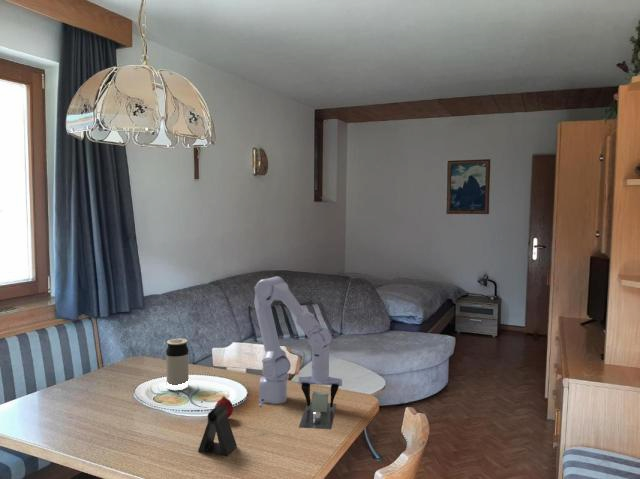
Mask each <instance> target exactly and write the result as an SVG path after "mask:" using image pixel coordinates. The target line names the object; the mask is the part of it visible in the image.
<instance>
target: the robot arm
mask: <svg viewBox="0 0 640 479" xmlns="http://www.w3.org/2000/svg"><path fill="white" fill-rule="evenodd" d="M253 289H254V293H255V294H254V301H253V303H254V305H253V306H254V309H255V313H256V318H257V321H258V326H259V330H260V334H261V339H262V340H261V341H262V345H263V348H264V352H265V353H264V355H263V357H262V359H261V362H262V369H261V371H262V372H261V373H262V375H263V376H264V377H263V376H262V377H260V380H259V386H258V387H259V389H258V394H259V395H258V397H259V398H258V400H259V401H258V407H262V406H263V404H264V403H267V404H274V405H276V404H277V405H279V404H283V403H285V402H287V401H288V392H287V391H288V373H289V371H290V370H291V366H292V365H291V361H290V360H289V358H288V356H287V353H286V351H284V349H282V348H281V344H280V339H279V337H278V336H279V335H278V332H277V327H276V322H275V319H274V314H273V310H272V304H273V302H274V301H275V300H276V301H280V302H282V303H283V304H284V306H286V308H287V310H289V311H290V312H291V313H292V315H294V316H295V318H296V324H297V325H298V326H299V327H300V329H301V330H302V331H303V333H304V334H305V336H307V338H308V344H309V346H310V347H311V376H310V375H309V376H299V377H298V383H297V384H298V385H301V387H300V388H301V390H302V392H303V395H304V397H305V400H306V404H307V406H310V402H311V385H317V386H323V385H324V386H330V402H329V403H330V407H333V404H334V400H335V397H336V394H337V393H338V391H339V387H342V386H343V378H341V377H340V378H338V377H332V376H330V345H329V344H331V343H332V340H333V336H332V333H331V331H330V329H328V328H327V327H323V325H322V324H320V323H319V322H318V321H317V319H316V318H315V315H314V313H311V312H310V311H306V310H304V308H303V307H302V305H300V303H299V301H298V300H297V299H296V297H295V296H294V295H293V293H292V291H291V290H290V288H289V285H288V283H287V282H285V280H284V279H283V278H282V277H280V276H279V275H278V276H277V275H276V276H273V277H269V278H262V279H259V281H257V283H256V285H254V288H253Z"/></svg>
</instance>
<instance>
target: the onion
mask: <svg viewBox="0 0 640 479" xmlns="http://www.w3.org/2000/svg"><path fill="white" fill-rule="evenodd" d="M232 403H233V402H231V400H230V399H228V398H227V397H226V396H225V395H222V396H221V398H219V400H218V401H217V402H216V403H215V406H214V408H215V407H217V406H218V405H219V404H221V405H220V406H219V407H221V406H222V405H223V404H224V405H225V406H226V407H227V417H228V418H230V417H231V415H232V414H233V412H234V406H233V404H232ZM219 407H218V408H219Z"/></svg>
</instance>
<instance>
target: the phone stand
mask: <svg viewBox="0 0 640 479" xmlns="http://www.w3.org/2000/svg"><path fill="white" fill-rule="evenodd" d="M220 405H221V404H219V405H218V406H217V407H215V406H214V408H213V409H212V410H211V411H209V412H208V414H207V424H206V427H205V430H204V432H203V435H202V439H201V441H200V444H199V447H198V449H197V453H199V454H200V453H201V454H207V455H208V454H209V455H214V456H215V455H216V456H222V457H228V456H230V454H231V452H233V450H234V449H236V447H237V442H236V439H235V435H234V433H233V429H232V426H231V424H230V421H229V417H227V407H226V406H225V405H224V404H223V405H222V406H221V407H219V406H220ZM218 407H219V408H218ZM216 436H217V440H218V441H217V442H215V438H216Z"/></svg>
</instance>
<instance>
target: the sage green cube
mask: <svg viewBox="0 0 640 479" xmlns="http://www.w3.org/2000/svg"><path fill="white" fill-rule="evenodd" d="M311 402H312V411H316V410H317V411H320V412H327V409H328V403H329V391H322V390H321V391H319V390H317V391H316V390H313V392H312V394H311Z"/></svg>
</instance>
